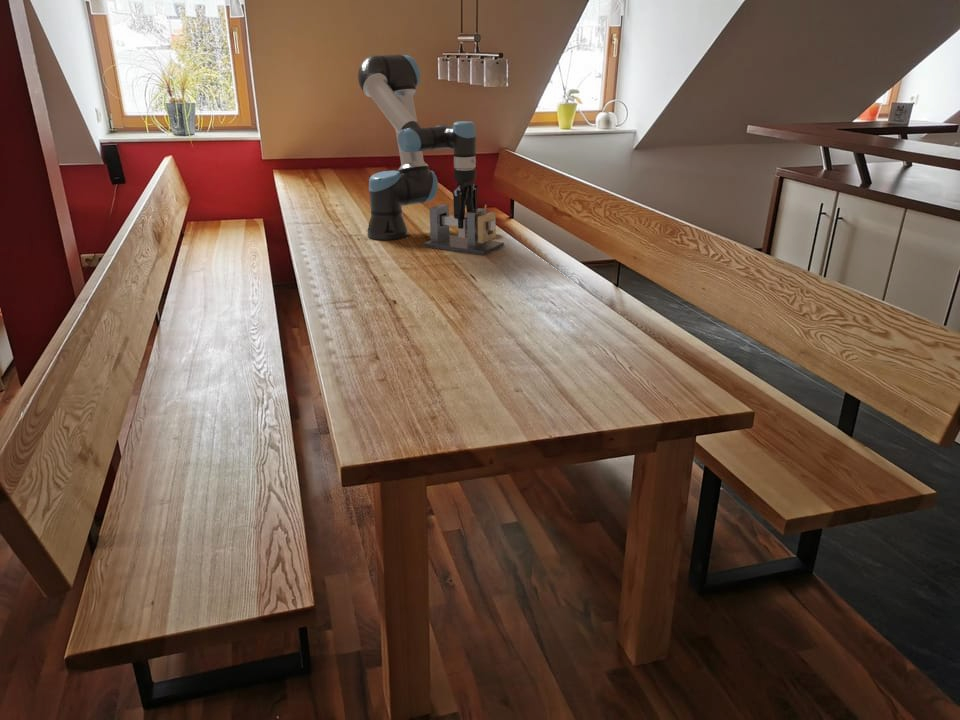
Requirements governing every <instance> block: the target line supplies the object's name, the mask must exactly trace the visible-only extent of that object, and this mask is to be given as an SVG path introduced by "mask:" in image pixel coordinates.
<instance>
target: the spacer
mask: <svg viewBox="0 0 960 720" xmlns="http://www.w3.org/2000/svg"><path fill="white" fill-rule="evenodd" d="M490 220H495V229H494V230H491V231H490V230H488V233H486V222H487V221H490ZM496 225H497V223H496V212H495V211H494V212H493V211H489V212H486V214H484V215H481V216H479V217H478V243H485V242H487V241H493V240H494V239H496V237H497V236H496V235H497V234H496V232H497V231H496V228H497V227H496Z"/></svg>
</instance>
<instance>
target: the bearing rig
mask: <svg viewBox="0 0 960 720" xmlns="http://www.w3.org/2000/svg"><path fill="white" fill-rule="evenodd" d="M440 214H445V215H450V205H449V204H445V203H441V204H438V205H435V206H432V207H429V223H430V224H429V228H430V240H428V241H425V242H423V248H429V249H434V250H435V249H436V250H444V251H449V252H456V253H463V254H464V253H465V254H469V255H478V256H487V255H489V254H491V253H493V252H495V251H497V250H500V249H502V248H504V247H505V242H502V241H495V240H489V241H487V242H485V243H478V229H477V219H478V217H479V216H481V215H484V214H487V208H486V209H485V208H480V207H477V209H475V210H472V211H470V212H467V211H466V215H467V234H466V238H462V237H458V235H450V225H442V224H440ZM503 246H504V247H503ZM501 247H502V248H501Z"/></svg>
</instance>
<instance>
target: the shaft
mask: <svg viewBox="0 0 960 720" xmlns="http://www.w3.org/2000/svg"><path fill="white" fill-rule="evenodd" d="M464 219H466V230H467V213H465V217H464ZM440 224H442V225H449V227H450V226H451V227H452V226H453V227H458V219H455V218H454V214H453V215H452V214H449V215H445V214H440ZM477 229H478V219H477ZM494 229H495V220H490V221H487V222H486V230H490V231H491V230H494Z"/></svg>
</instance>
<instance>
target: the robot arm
mask: <svg viewBox="0 0 960 720" xmlns="http://www.w3.org/2000/svg"><path fill="white" fill-rule="evenodd" d="M420 79H421V73H420V68H419V66H418V63H417V61H416V60H415V59H414V58H413V57H412V56H410V55H407V54H404V55H403V54H387V55H386V54H384V55H379V54H377V55H376V54H375V55H371V56H368V57H366V58H365V59H363V61H362V62H361V64H360V66H359V67H358V71H357V80H358V81H357V83H358V86H359V87H360V89H361V90H362V92H363V94H365V96H366V97H368V98H371V99H372V101H373V102H374V103H375V105H376V106H377V107H378V108H379V110H380V111H381V112H382V113H383V115H384V116H385V118H386V119H387V120H388V121H389V123H390V124H391V125H392V127H393V128H394V130H395V135H396V140H397V147H398V152H399V159H400V167H399V168H398V169H397V170H383V171H379V172H376V173H374V174H372V175H370V177H369V179H368V191H369V207H370V219H369V223H368V227H367V229H366V230H367V231H366V232H367V237H368V238H369V239H372V240H380V241H384V240H385V241H386V240H387V241H388V240H389V241H391V240H398V239H402V238H405V237H407V236H408V227H407V225H406V222H405V220H404V216H403V206H409V205H417V204H418V205H419V204H424V203H428V202H431V201H433V200H434V199H435V197H436V195H437V192H438V186H439V185H438V184H439V183H438V178H437V175H436V174H435V171H433V170H430V167H429V164H427V162H425V161H424V156H423V155H424V154H423V152H425V151H432V150H442V149H443V150H444V149H449V150H453V168H454V170H453V175H454V176H453V177H454V178H453V179H454V181H456V182H457V183H456V188H455V189H452V197H453V215H454V218H455V219H458V226H457V228H458V233H457V234H458V235H457V236H458V237H462V238H467V230H466V219H464V217H465V214H466V213H467V212H470V211H472V210H475V209H478V188H479V185H478V184H474V181H476V179H477V170H476V169H475V168H476V163H477V159H476V156H477V155H476V152H477V151H476V149H477V148H476V147H477V145H476V143H477V142H476V141H477V140H476V139H477V138H476V136H477V133H476V124H475V123H474V122H473V121H470V120H469V121H465V120H462V121H461V120H459V121H455V122H453V125H447V124H439V125H438V124H437V125H436V126H428V127H427V126H426V127H422V126H421V125H420V124H419V123H418V118H417V113H416V106H415V102H414V95H415V93H416V92H417V87H418V86H419V84H420V82H421V81H420Z"/></svg>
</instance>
